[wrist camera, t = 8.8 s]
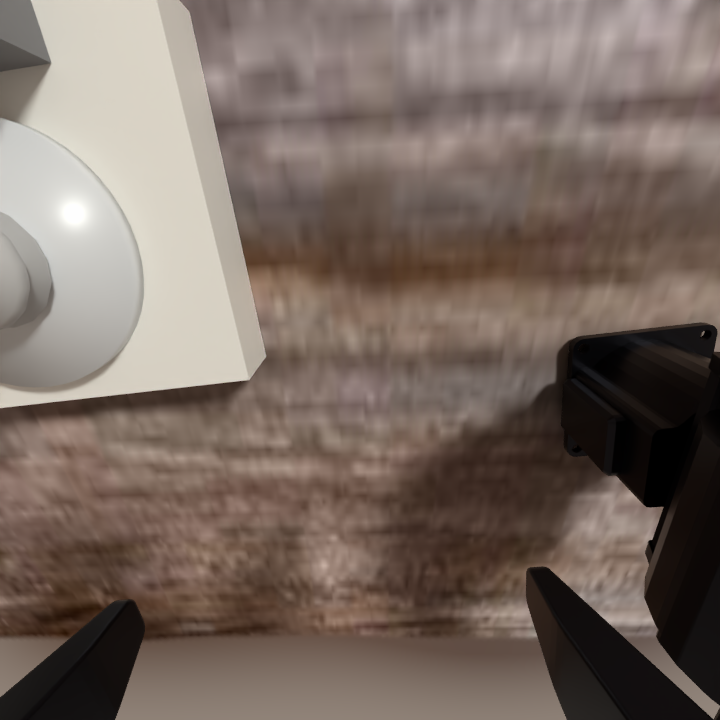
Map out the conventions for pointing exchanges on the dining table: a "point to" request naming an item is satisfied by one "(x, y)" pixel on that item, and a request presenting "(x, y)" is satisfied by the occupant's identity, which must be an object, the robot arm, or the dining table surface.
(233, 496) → the dining table surface
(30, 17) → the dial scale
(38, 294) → the rook chess piece
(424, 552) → the dining table surface
